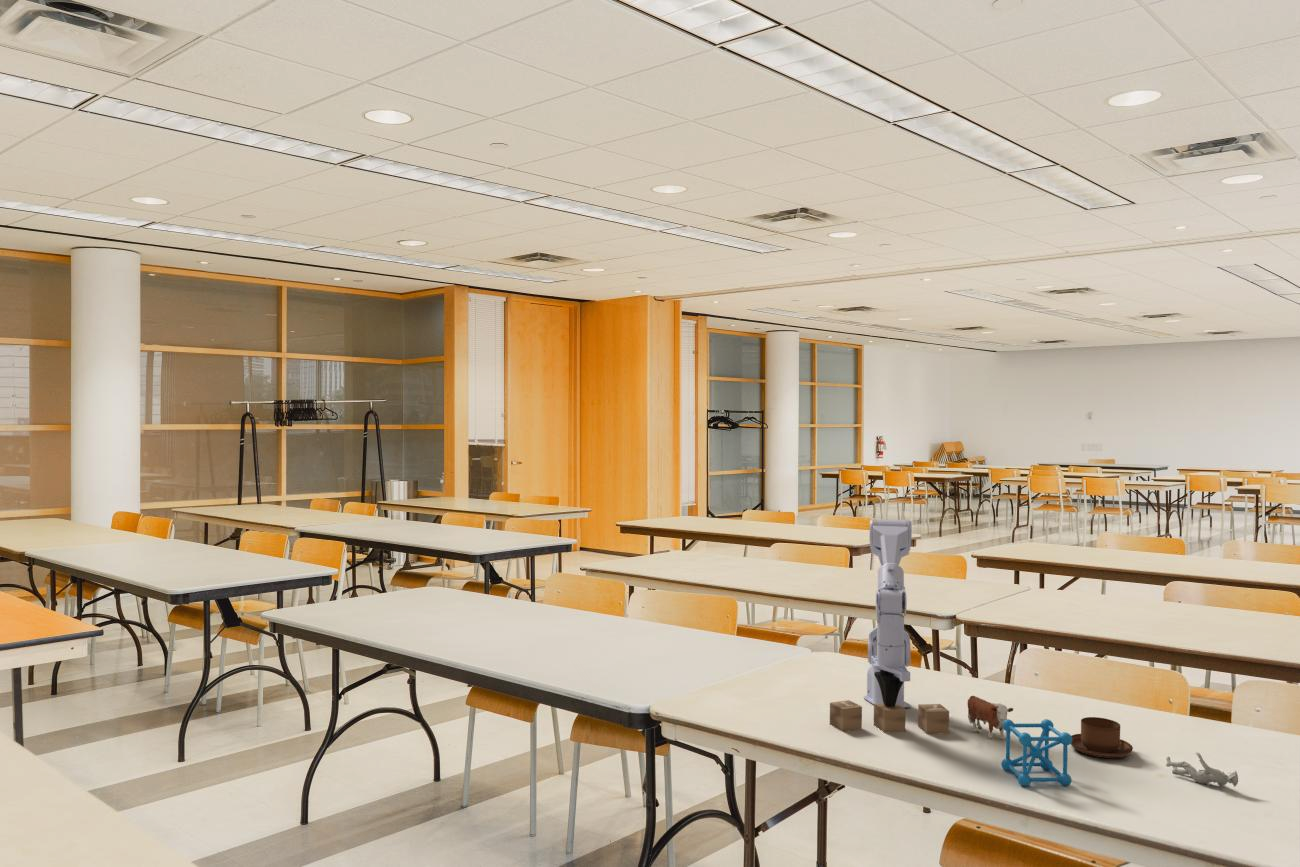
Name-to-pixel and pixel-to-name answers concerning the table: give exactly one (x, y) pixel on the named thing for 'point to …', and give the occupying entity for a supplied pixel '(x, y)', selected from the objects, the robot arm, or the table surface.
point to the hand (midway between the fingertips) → (889, 705)
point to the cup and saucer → (1101, 738)
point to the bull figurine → (987, 715)
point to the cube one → (845, 715)
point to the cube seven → (933, 718)
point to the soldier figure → (1203, 772)
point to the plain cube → (889, 717)
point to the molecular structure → (1036, 752)
